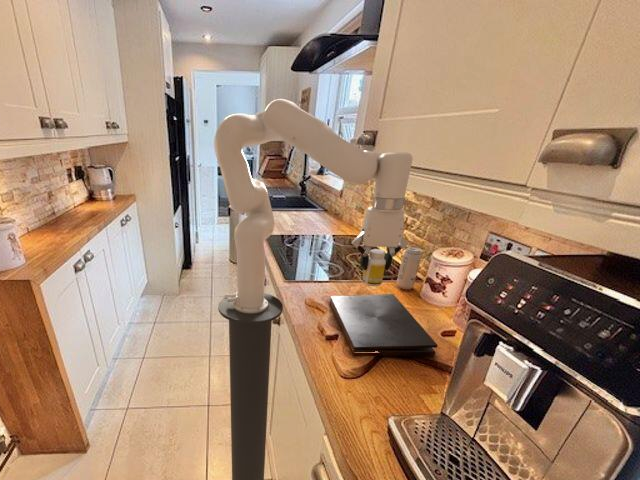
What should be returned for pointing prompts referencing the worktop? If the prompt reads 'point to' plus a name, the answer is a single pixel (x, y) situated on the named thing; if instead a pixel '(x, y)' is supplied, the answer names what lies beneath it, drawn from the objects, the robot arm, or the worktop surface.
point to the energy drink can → (409, 267)
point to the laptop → (386, 352)
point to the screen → (380, 323)
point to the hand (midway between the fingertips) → (374, 267)
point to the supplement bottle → (374, 268)
